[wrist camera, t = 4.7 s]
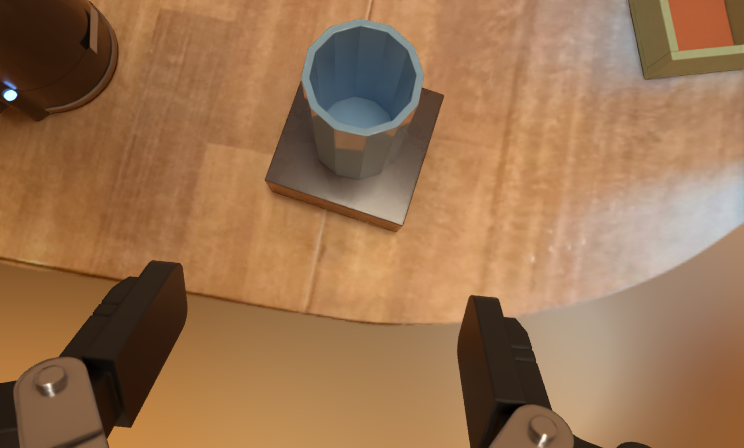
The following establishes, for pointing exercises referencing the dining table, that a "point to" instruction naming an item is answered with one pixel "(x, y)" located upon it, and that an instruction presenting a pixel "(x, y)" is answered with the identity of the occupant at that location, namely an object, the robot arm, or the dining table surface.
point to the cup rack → (688, 36)
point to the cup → (360, 95)
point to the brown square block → (347, 195)
